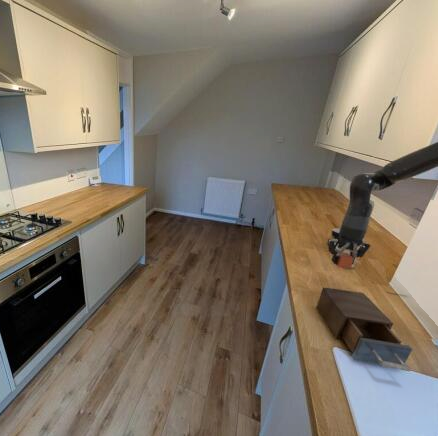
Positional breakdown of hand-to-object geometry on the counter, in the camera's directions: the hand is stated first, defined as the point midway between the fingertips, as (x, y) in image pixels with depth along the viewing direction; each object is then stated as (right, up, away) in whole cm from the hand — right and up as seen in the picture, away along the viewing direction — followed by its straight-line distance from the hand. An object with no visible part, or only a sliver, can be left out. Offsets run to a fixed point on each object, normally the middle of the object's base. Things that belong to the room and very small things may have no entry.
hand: (341, 263), depth 97 cm
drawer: (-14, -21, -26) cm, 37 cm away
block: (0, 0, 0) cm, 0 cm away
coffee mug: (+28, +1, +38) cm, 47 cm away
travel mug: (+18, -5, +20) cm, 28 cm away
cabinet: (-12, -18, -16) cm, 27 cm away
